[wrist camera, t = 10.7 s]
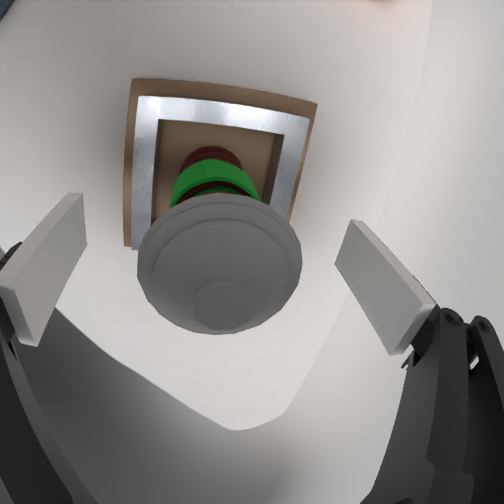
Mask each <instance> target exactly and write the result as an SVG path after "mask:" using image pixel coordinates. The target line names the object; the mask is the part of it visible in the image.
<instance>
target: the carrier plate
mask: <svg viewBox="0 0 504 504" xmlns="http://www.w3.org/2000/svg"><path fill="white" fill-rule="evenodd" d="M143 95H156V96H173V97H186V98H196V99H206V100H215V101H223V102H230V103H237V104H243V105H250V106H256V107H261V108H267V109H272V110H277V111H282V112H287V113H292V114H296V115H300V116H303V117H306V118H309V119H310V121H309V126H308V130H307V134H306V139H305V143H304V147H303V151H302V156H301V160H300V164H299V168H298V173H297V177H296V181H295V185H294V189H293V193H292V197H291V201H290V205H289V209H288V213H287V217H286V222H287V223H288V224H289V220H290V216H291V213H292V209H293V205H294V201H295V197H296V193H297V189H298V185H299V181H300V177H301V173H302V168H303V164H304V160H305V156H306V152H307V148H308V143H309V139H310V135H311V131H312V126H313V122H314V118H315V113H316V109H317V104H316V103H313V102H309V101H305V100H300V99H296V98H292V97H287V96H283V95H278V94H273V93H268V92H263V91H257V90H252V89H246V88H239V87H233V86H226V85H218V84H210V83H201V82H191V81H178V80H162V79H132V83H131V90H130V98H129V107H128V117H127V127H126V140H125V156H124V181H123V230H124V246H128V247H132V242H131V194H132V167H133V151H134V137H135V126H136V116H137V107H138V99H139V96H143ZM275 135H276V133H273V132H267V131H261V130H255V129H248V128H242V127H235V126H227V125H220V124H211V123H202V122H192V121H181V120H168V119H163V123H162V132H161V141H160V151H159V162H158V175H157V189H156V207H155V220H157V219H158V218H159V217H160V216H161V215H162V214H163V213H164V212H165V211H166V210H167V209H169V206H170V200H171V194H172V189H173V186H174V184H175V182H176V180H177V178H178V177H179V172H180V168H181V166H182V164H183V162H184V161H185V159H186V158H187V157H188V156H189V155H190V154H191V153H192V152H194V151H196V150H198V149H200V148H203V147H210V146H211V147H221V148H225V149H226V150H228V151H230V152H232V153H233V154H234V155H235V156H236V157H237V158H238V159H239V160H240V163H241V166H242V168H243V171H244V172H245V173H246V174H247V175H248V176H249V177H250V179H251V180H252V182H253V185H254V187H255V189H256V192H257V195H258V197H259V200H260V202H262V197H263V192H264V188H265V183H266V178H267V173H268V169H269V164H270V159H271V154H272V149H273V145H274V140H275Z"/></svg>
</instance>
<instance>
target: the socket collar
mask: <svg viewBox="0 0 504 504" xmlns="http://www.w3.org/2000/svg"><path fill="white" fill-rule="evenodd" d="M163 119H168V120H181V121H192V122H202V123H211V124H220V125H227V126H235V127H242V128H248V129H255V130H261V131H267V132H273V133H276V135H275V140H274V145H273V149H272V154H271V159H270V164H269V169H268V173H267V178H266V183H265V188H264V192H263V197H262V203H265V204H267V205H270V206H271V207H272V208H273V209H274V210H275V211H276V212H277V213H278V214H279V215H280V216H281V217H282V218H283V219H284V220H285V221H286V217H287V213H288V209H289V205H290V201H291V197H292V193H293V189H294V185H295V181H296V177H297V173H298V168H299V164H300V160H301V156H302V151H303V147H304V143H305V139H306V134H307V130H308V126H309V121H310V119H309V118H306V117H303V116H300V115H296V114H292V113H287V112H282V111H277V110H272V109H267V108H261V107H256V106H250V105H243V104H237V103H230V102H223V101H215V100H206V99H196V98H186V97H173V96H156V95H143V96H139V99H138V107H137V116H136V126H135V137H134V151H133V167H132V194H131V242H132V250H139V247H140V244H141V242H142V239H143V237H144V235H145V233H146V232H147V231H148V229H149V228H150V227H151V226H152V224H153V223H154V222H155V221H156V220H155V207H156V189H157V175H158V162H159V151H160V141H161V132H162V123H163Z"/></svg>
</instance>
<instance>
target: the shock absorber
mask: <svg viewBox="0 0 504 504" xmlns="http://www.w3.org/2000/svg"><path fill="white" fill-rule="evenodd" d="M301 269H302V254H301V245H300V243H299V240H298V238H297V236H296V234H295V232H294V230H293V228H292V227H291V226H290V224H288V223H287V222H286V221H285V220H284V219H283V218H282V217H281V216H280V215H279V214H278V213H277V212H276V211H275V210H274V209H273V208H272V207H271V206H270V205H267V204H265V203H262V202H260V200H259V197H258V195H257V192H256V189H255V187H254V185H253V182H252V180H251V179H250V177H249V176H248V175H247V174H246V173H245V172H244V171H243V168H242V166H241V163H240V160H239V159H238V158H237V157H236V156H235V155H234V154H233V153H232V152H230V151H228V150H226V149H225V148H221V147H211V146H210V147H203V148H200V149H198V150H196V151H194V152H192V153H191V154H190V155H189V156H188V157H187V158H186V159H185V161H184V162H183V164H182V166H181V168H180V172H179V177H178V178H177V180H176V182H175V184H174V186H173V189H172V194H171V200H170V206H169V209H167V210H166V211H165V212H164V213H163V214H162V215H161V216H160V217H159V218H158V219H157V220H156V221H155V222H154V223H153V224H152V226H151V227H150V228H149V229H148V231H147V232H146V233H145V235H144V237H143V239H142V242H141V244H140V247H139V251H138V267H137V277H138V280H139V282H140V284H141V287H142V289H143V291H144V294H145V296H146V298H147V300H148V302H149V303H150V304H151V305H152V306H153V307H154V308H155V309H156V310H157V312H158V313H159V314H160V315H161V316H163V317H164V318H166V319H167V320H169V321H170V322H172V323H173V324H175V325H176V326H179V327H181V328H184V329H186V330H189V331H192V332H195V333H203V334H212V335H222V334H235V333H238V332H241V331H244V330H247V329H250V328H253V327H255V326H258V325H261V324H262V323H263V322H265V321H266V320H268V319H269V318H270V317H272V316H273V315H275V314H276V313H277V312H279V311H280V310H281V309H282V308H283V306H284V305H285V303H286V302H287V301H288V300H289V298H290V296H291V295H292V293H293V292H294V290H295V289H296V287H297V285H298V282H299V278H300V273H301Z"/></svg>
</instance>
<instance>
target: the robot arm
mask: <svg viewBox="0 0 504 504" xmlns="http://www.w3.org/2000/svg"><path fill="white" fill-rule="evenodd" d="M86 246H87V241H86V231H85V220H84V206H83V193H68V194H67V195H66V196H65V197H64V198H63V199H62V200H61V201H60V202H59V203H58V204H57V205H56V206H55V207H54V208H53V209H52V210H51V211H50V212H49V214H48V215H47V216H46V217H45V218H44V219H43V220H42V221H41V222H40V223H39V224H38V226H37V227H36V228H35V229H34V230H33V231H32V232H31V234H30V235H29V236H28V237H27V238H26V239H25V241H24V242H19V243H17V244H16V245H14V246H13V247H12V248H10V249H9V251H8V252H7V253H6V254H5V255H4V258H2V259H1V260H0V476H1V478H2V481H3V483H4V485H5V487H6V489H7V491H8V493H9V495H10V497H11V498H12V500H13V502H14V504H98V503H97V501H96V500H95V499H94V497H93V496H92V495H91V493H90V492H89V491H88V490H87V488H86V487H85V485H84V484H83V482H82V481H81V480H80V478H79V477H78V476H77V474H76V472H75V471H74V469H73V468H72V466H71V465H70V463H69V461H68V460H67V459H66V457H65V455H64V453H63V452H62V450H61V449H60V447H59V445H58V443H57V442H56V440H55V438H54V436H53V434H52V433H51V431H50V429H49V427H48V425H47V423H46V421H45V419H44V417H43V415H42V413H41V411H40V409H39V407H38V405H37V403H36V400H35V398H34V396H33V394H32V391H31V389H30V387H29V384H28V382H27V379H26V377H25V375H24V372H23V369H22V367H21V364H20V361H19V359H18V356H17V353H16V350H15V347H14V344H13V342H12V340H11V338H12V336H13V334H14V332H15V333H16V335H17V337H18V339H19V341H20V343H23V344H27V345H32V346H38V344H39V341H40V339H41V336H42V334H43V331H44V329H45V327H46V324H47V322H48V320H49V318H50V316H51V313H52V311H53V309H54V307H55V305H56V303H57V301H58V299H59V296H60V294H61V292H62V290H63V288H64V286H65V284H66V283H67V281H68V279H69V277H70V275H71V273H72V271H73V269H74V267H75V265H76V264H77V262H78V260H79V258H80V256H81V255H82V253H83V251H84V249H85V248H86ZM335 265H336V267H337V269H338V270H339V272H340V273H341V275H342V276H343V278H344V280H345V281H346V283H347V284H348V286H349V288H350V289H351V291H352V292H353V294H354V296H355V297H356V299H357V301H358V302H359V304H360V306H361V307H362V309H363V310H364V312H365V314H366V315H367V317H368V319H369V321H370V322H371V324H372V326H373V327H374V329H375V331H376V333H377V334H378V336H379V338H380V339H381V341H382V343H383V345H384V346H385V348H386V350H387V352H388V354H389V355H390V356H392V355H398V354H403V353H404V352H405V350H406V348H408V346H409V345H410V343H411V345H412V346H413V348H414V350H413V351H412V353H411V354H410V355H409V356H408V358H407V359H406V360H405V362H404V363H403V364H402V366H401V368H404V366H405V365H407V364H408V368H407V369H406V370H407V373H406V378H405V382H404V387H403V392H402V396H401V400H400V404H399V408H398V412H397V416H396V420H395V424H394V427H393V430H392V434H391V437H390V440H389V443H388V446H387V449H386V453H385V456H384V458H383V461H382V464H381V467H380V470H379V472H378V475H377V478H376V480H375V483H374V486H373V488H372V490H371V491H370V493H369V494H368V495H367V496H366V497H365V499H364V500H363V501H362V502H361V503H360V504H504V351H503V349H502V346H501V344H500V341H499V339H498V336H497V334H496V332H495V329H494V328H493V326H492V324H491V323H490V322H489V320H488V319H486V318H485V317H482V316H478V315H477V316H475V317H474V319H473V320H472V322H471V323H470V324H468V323H464V321H463V319H462V318H461V316H459V315H458V313H456V312H455V311H453V310H452V309H449V308H442V309H441V308H440V307H439V306H438V304H436V302H435V301H434V299H433V298H432V297H431V296H430V295H429V293H428V292H427V291H425V289H424V287H423V286H422V285H420V283H419V281H418V280H417V279H416V278H415V277H414V276H413V275H412V274H411V273H410V272H409V271H408V270H407V269H406V268H405V266H404V265H403V264H402V263H401V262H400V261H399V259H398V258H397V257H396V256H395V255H394V254H393V253H392V252H391V251H390V250H389V248H388V247H386V245H385V244H384V243H383V242H382V241H381V240H380V239H379V238H378V237H377V236H376V235H375V233H374V232H373V231H372V230H371V229H370V228H369V227H368V226H367V225H366V224H365V223H364V222H363V221H358V220H350V223H349V226H348V228H347V231H346V234H345V237H344V240H343V242H342V245H341V248H340V251H339V253H338V256H337V259H336V261H335ZM477 356H478V358H479V362H478V363H477V364H476V366H475V367H474V368H473V369H472V370H471V368H470V364H471V363H472V362H473V361H474V359H475V358H476V357H477Z"/></svg>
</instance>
